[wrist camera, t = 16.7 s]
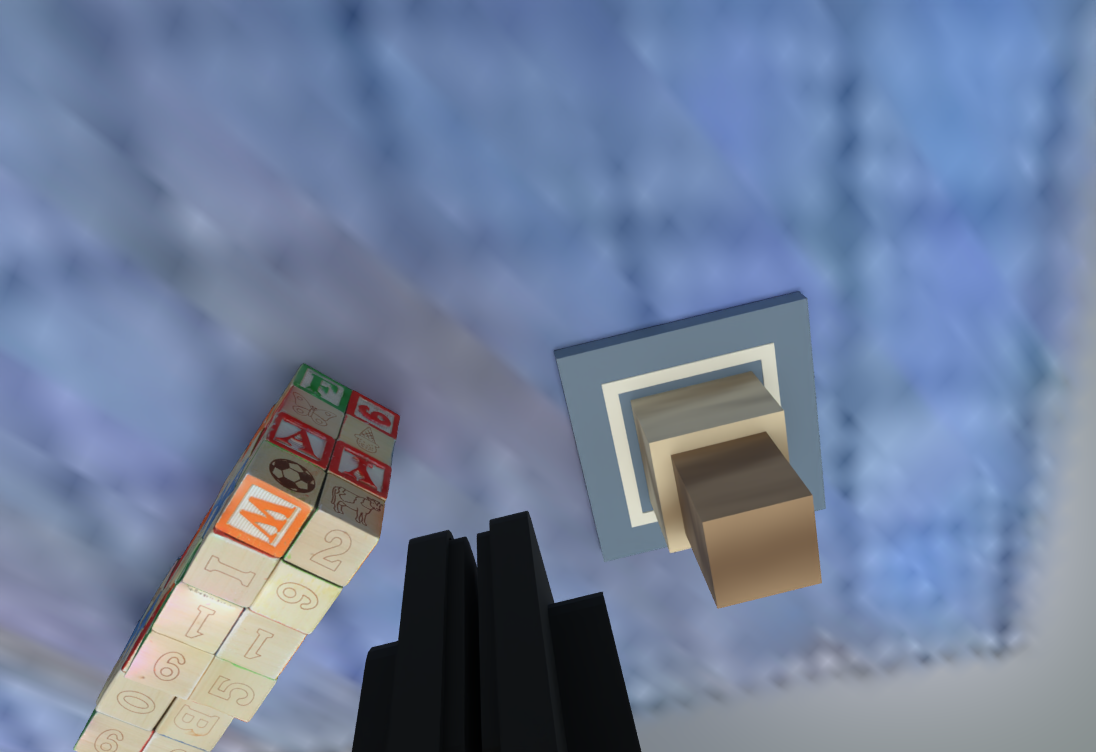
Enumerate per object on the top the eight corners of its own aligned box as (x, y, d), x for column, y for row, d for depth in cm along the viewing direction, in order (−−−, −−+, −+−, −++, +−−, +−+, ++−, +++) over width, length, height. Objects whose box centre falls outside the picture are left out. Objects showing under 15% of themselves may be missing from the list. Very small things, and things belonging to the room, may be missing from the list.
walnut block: (670, 455, 41) (702, 522, 35) (765, 431, 41) (812, 495, 35) (685, 533, 43) (717, 608, 37) (776, 510, 43) (821, 582, 37)
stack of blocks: (229, 664, 51) (163, 844, 40) (134, 625, 50) (38, 803, 38) (402, 412, 45) (382, 541, 34) (302, 357, 43) (245, 474, 32)
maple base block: (630, 400, 45) (648, 443, 40) (751, 370, 45) (783, 410, 40) (650, 502, 48) (670, 552, 43) (764, 474, 48) (795, 522, 43)
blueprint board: (554, 350, 45) (556, 359, 43) (798, 291, 44) (807, 298, 43) (601, 550, 50) (604, 562, 49) (817, 497, 50) (826, 509, 49)
